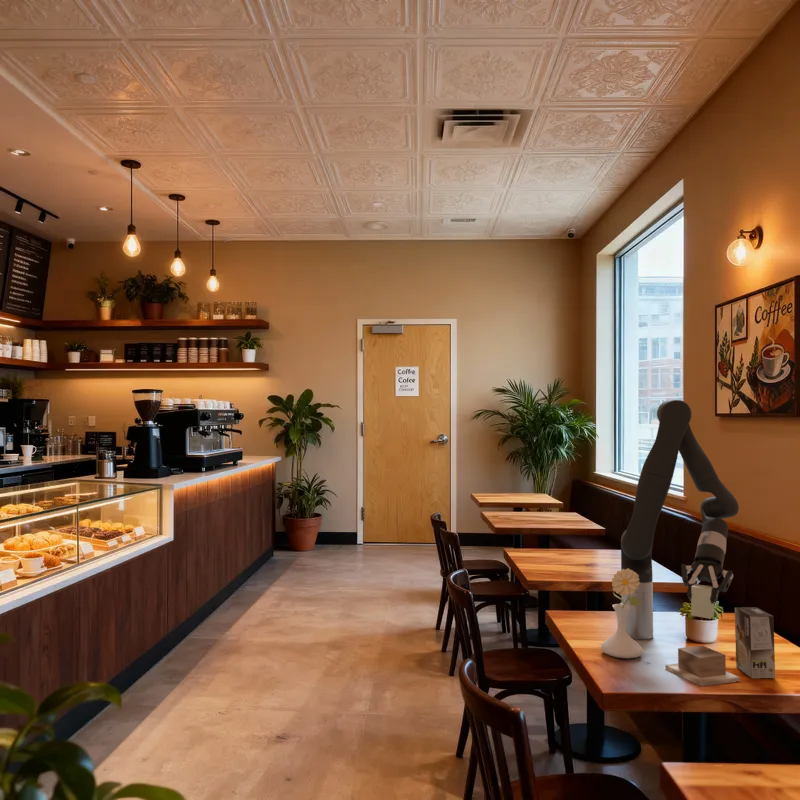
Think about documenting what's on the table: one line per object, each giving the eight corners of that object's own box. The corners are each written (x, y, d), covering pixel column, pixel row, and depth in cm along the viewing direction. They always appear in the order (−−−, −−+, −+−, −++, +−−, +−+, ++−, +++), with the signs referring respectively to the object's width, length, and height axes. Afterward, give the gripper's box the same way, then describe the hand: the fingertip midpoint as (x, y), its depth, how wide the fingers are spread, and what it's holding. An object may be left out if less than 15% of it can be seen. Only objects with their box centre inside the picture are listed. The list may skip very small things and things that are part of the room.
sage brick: (691, 615, 185) (691, 586, 185) (694, 612, 188) (694, 583, 188) (710, 618, 182) (710, 589, 182) (713, 615, 185) (713, 586, 185)
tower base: (665, 668, 177) (665, 646, 178) (701, 664, 181) (701, 641, 181) (701, 686, 165) (701, 662, 165) (739, 681, 169) (739, 657, 169)
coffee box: (776, 679, 170) (775, 616, 171) (751, 678, 170) (750, 615, 171) (758, 666, 179) (757, 606, 180) (734, 666, 180) (733, 606, 180)
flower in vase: (592, 651, 191) (591, 564, 192) (624, 646, 195) (623, 561, 197) (623, 666, 179) (622, 573, 180) (656, 661, 183) (655, 570, 185)
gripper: (682, 539, 196) (671, 587, 186) (736, 545, 187) (727, 596, 177) (687, 555, 200) (676, 603, 190) (739, 561, 191) (731, 612, 181)
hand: (701, 599), depth 183 cm, fingers closed on sage brick, 5 cm apart
